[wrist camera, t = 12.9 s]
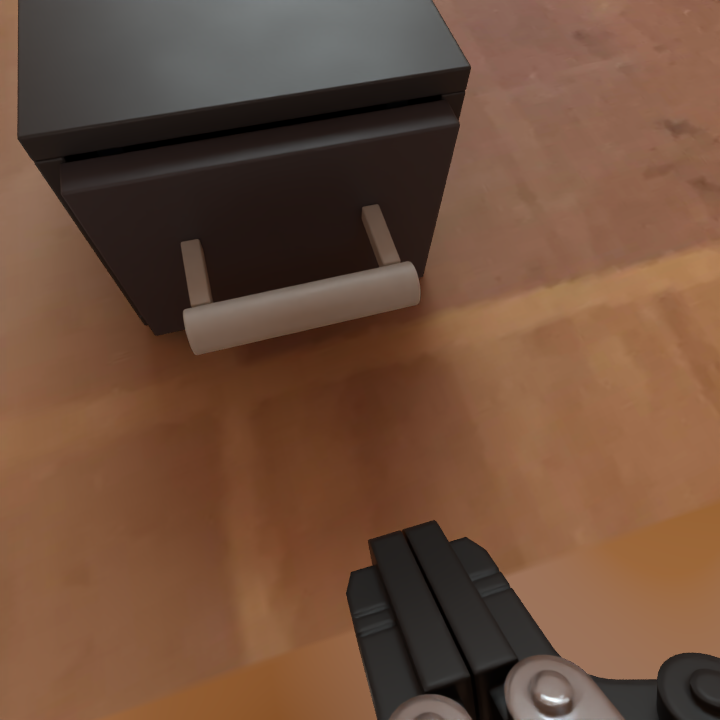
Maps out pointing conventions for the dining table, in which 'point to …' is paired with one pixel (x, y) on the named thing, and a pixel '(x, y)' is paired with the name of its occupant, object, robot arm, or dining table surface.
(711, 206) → the dining table surface
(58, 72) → the dark brown box
